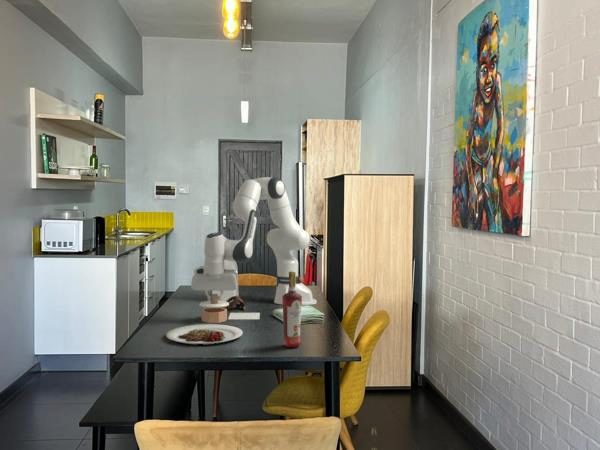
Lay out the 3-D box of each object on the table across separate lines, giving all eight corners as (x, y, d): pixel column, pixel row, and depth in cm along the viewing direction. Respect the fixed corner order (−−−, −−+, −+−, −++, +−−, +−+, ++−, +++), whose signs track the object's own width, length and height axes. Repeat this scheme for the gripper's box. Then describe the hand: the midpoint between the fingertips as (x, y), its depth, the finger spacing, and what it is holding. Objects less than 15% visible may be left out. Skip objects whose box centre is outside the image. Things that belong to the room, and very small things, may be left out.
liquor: (295, 342, 216) (296, 270, 214) (305, 347, 209) (305, 272, 208) (278, 345, 212) (279, 271, 211) (287, 349, 206) (288, 273, 204)
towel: (287, 327, 244) (288, 315, 243) (272, 317, 263) (272, 306, 263) (326, 323, 250) (326, 312, 250) (308, 314, 270) (308, 303, 270)
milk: (238, 298, 307) (239, 251, 306) (234, 302, 296) (234, 253, 294) (217, 298, 308) (217, 250, 307) (211, 302, 297) (211, 253, 295)
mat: (259, 314, 268) (259, 312, 268) (259, 320, 254) (259, 319, 254) (230, 314, 267) (230, 312, 267) (228, 320, 253) (228, 319, 253)
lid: (229, 302, 258) (230, 291, 258) (227, 307, 245) (227, 296, 245) (201, 302, 258) (201, 291, 257) (197, 307, 245) (197, 296, 244)
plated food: (192, 326, 243) (192, 318, 243) (255, 332, 232) (255, 324, 232) (150, 342, 216) (150, 333, 215) (219, 351, 205) (219, 341, 204)
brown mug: (246, 313, 271) (237, 299, 269) (229, 321, 272) (220, 307, 270) (249, 302, 282) (241, 289, 280) (233, 310, 284) (225, 297, 282)
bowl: (227, 318, 258) (227, 307, 257) (225, 323, 247) (225, 312, 247) (203, 318, 257) (203, 307, 257) (200, 323, 246) (200, 312, 246)
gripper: (238, 268, 254) (238, 299, 255) (192, 268, 253) (192, 298, 254) (237, 270, 248) (237, 301, 249) (190, 270, 247) (190, 301, 248)
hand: (214, 300), depth 251 cm, fingers closed on lid, 3 cm apart
